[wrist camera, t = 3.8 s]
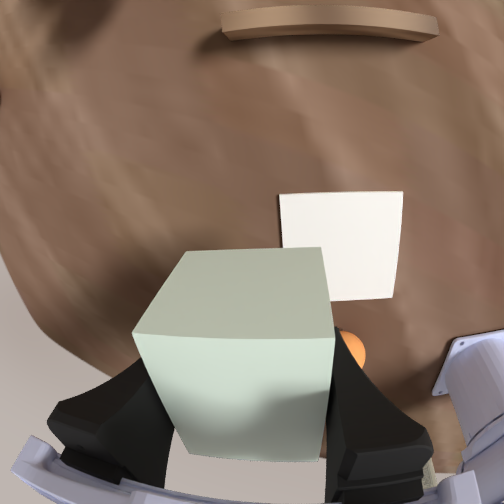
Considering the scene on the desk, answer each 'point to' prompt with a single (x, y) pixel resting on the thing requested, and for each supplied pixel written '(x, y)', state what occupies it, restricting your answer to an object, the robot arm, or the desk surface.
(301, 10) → the stopper
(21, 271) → the desk surface
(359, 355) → the ball
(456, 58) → the desk surface
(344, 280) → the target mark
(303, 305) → the pale green block
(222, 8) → the desk surface
